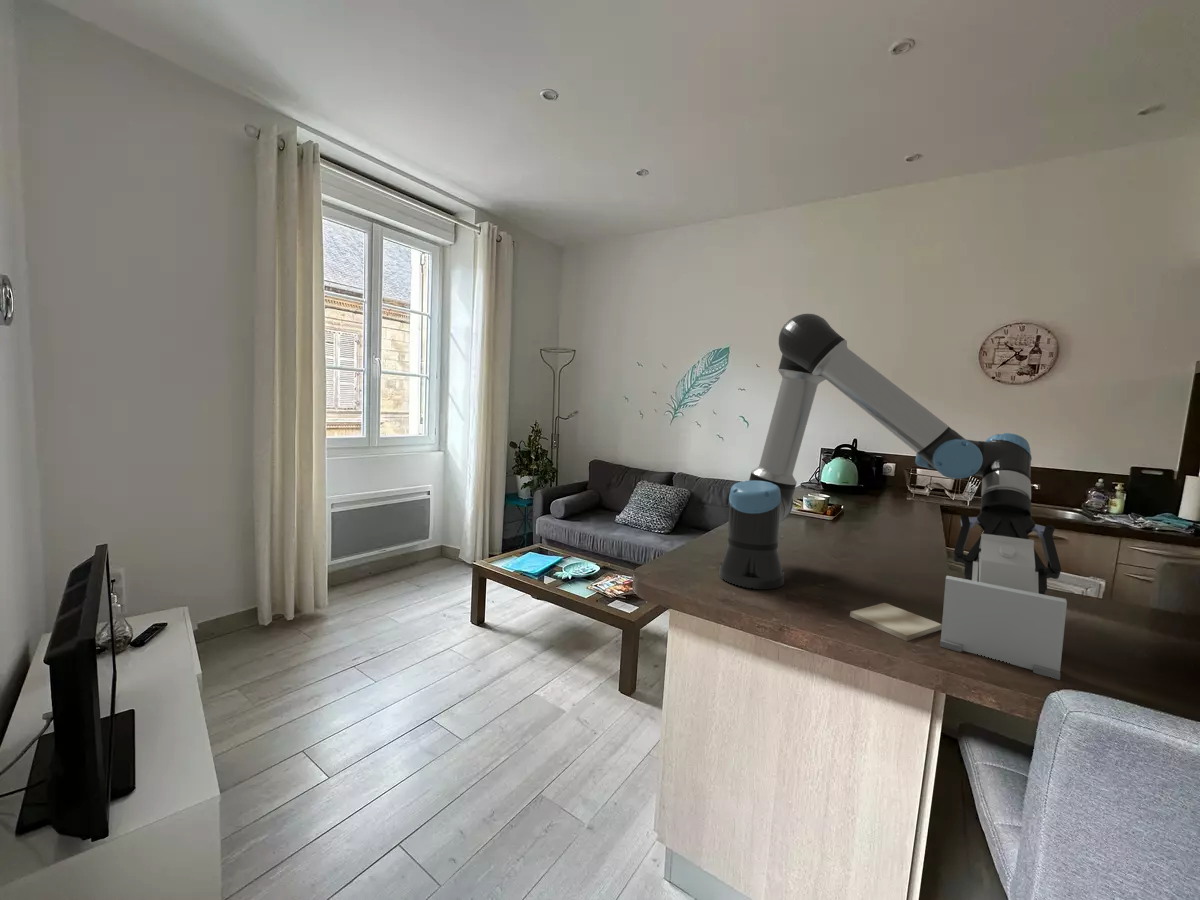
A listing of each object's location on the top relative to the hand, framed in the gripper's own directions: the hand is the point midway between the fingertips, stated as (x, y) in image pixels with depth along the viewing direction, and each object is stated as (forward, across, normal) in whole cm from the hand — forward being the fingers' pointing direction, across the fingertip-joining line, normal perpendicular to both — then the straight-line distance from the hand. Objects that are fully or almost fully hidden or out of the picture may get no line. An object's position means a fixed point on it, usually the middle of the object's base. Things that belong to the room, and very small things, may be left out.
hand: (1003, 602), depth 81 cm
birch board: (+7, +16, -5) cm, 18 cm away
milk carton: (+3, 0, -8) cm, 9 cm away
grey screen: (+10, +1, -2) cm, 10 cm away
